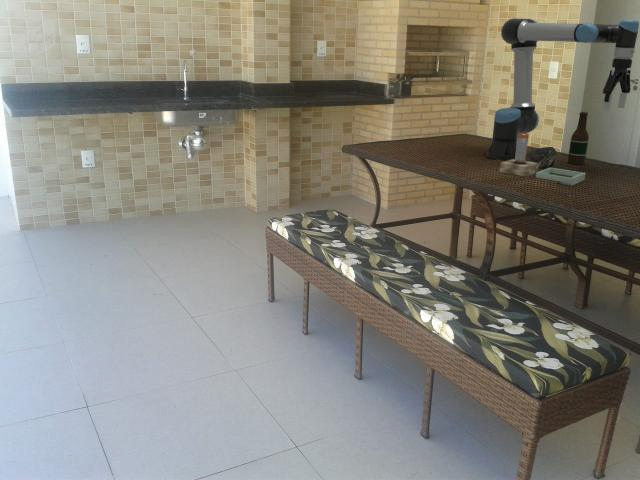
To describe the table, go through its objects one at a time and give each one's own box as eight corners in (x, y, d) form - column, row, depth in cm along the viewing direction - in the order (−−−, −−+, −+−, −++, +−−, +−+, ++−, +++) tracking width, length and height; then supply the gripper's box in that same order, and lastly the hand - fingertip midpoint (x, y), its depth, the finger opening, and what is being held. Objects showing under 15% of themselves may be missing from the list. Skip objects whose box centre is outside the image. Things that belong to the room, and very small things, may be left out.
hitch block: (499, 174, 262) (500, 162, 261) (511, 170, 271) (512, 159, 269) (525, 178, 255) (527, 167, 253) (537, 174, 264) (538, 163, 262)
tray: (535, 179, 254) (536, 172, 253) (549, 174, 265) (550, 167, 264) (571, 185, 245) (572, 178, 244) (584, 180, 255) (585, 173, 254)
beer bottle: (586, 165, 285) (594, 113, 277) (568, 164, 286) (576, 112, 278) (582, 162, 292) (591, 111, 284) (565, 161, 293) (573, 110, 286)
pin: (511, 172, 262) (516, 133, 257) (515, 170, 266) (520, 132, 260) (521, 173, 260) (526, 134, 254) (525, 172, 263) (530, 133, 258)
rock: (560, 162, 276) (555, 143, 272) (560, 172, 269) (554, 152, 265) (533, 169, 282) (527, 150, 278) (532, 179, 275) (526, 159, 271)
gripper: (617, 59, 250) (607, 111, 257) (645, 58, 265) (635, 108, 272) (600, 58, 255) (591, 109, 263) (627, 57, 271) (618, 106, 278)
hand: (613, 108), depth 267 cm, fingers open, 13 cm apart
